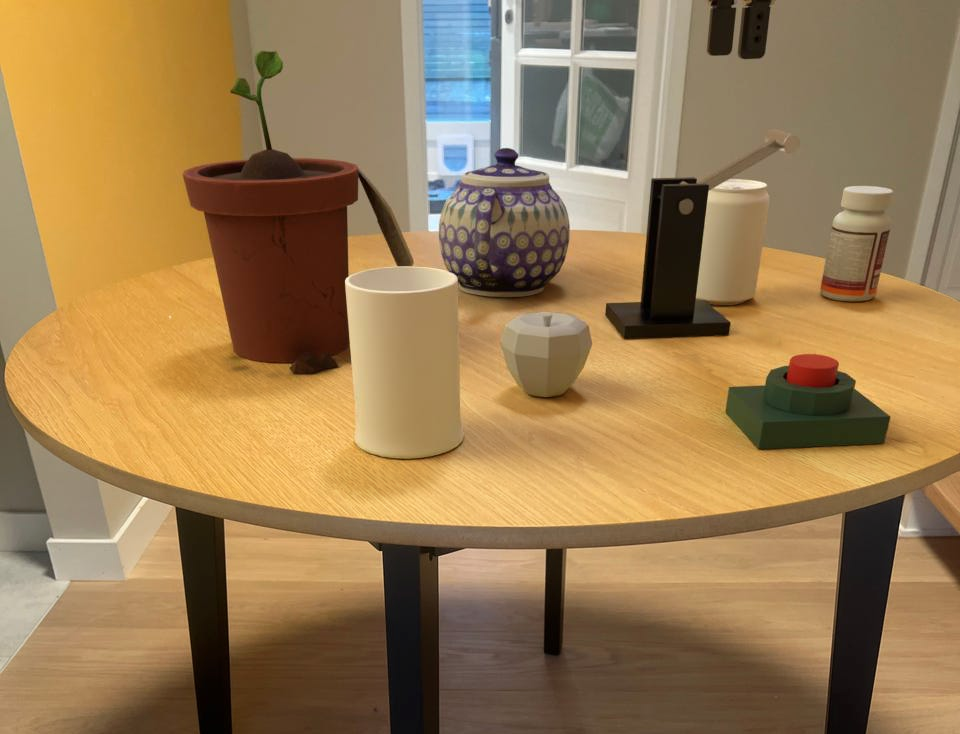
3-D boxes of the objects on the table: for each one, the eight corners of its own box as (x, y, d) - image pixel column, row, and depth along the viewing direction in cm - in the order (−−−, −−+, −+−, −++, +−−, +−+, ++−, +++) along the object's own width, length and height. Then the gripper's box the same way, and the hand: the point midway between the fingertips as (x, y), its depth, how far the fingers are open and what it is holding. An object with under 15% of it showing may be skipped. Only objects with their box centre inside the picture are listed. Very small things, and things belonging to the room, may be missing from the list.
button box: (840, 407, 79) (850, 359, 77) (884, 443, 72) (897, 392, 70) (724, 412, 78) (731, 364, 76) (758, 449, 72) (767, 398, 69)
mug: (372, 403, 80) (362, 254, 74) (472, 405, 80) (470, 256, 73) (344, 458, 71) (329, 292, 64) (458, 461, 70) (454, 294, 63)
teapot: (544, 319, 102) (549, 165, 93) (409, 310, 105) (403, 161, 97) (584, 267, 122) (591, 137, 113) (470, 261, 125) (469, 134, 117)
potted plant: (264, 314, 104) (229, 47, 90) (451, 329, 99) (445, 48, 85) (179, 363, 90) (121, 55, 76) (392, 382, 85) (372, 56, 71)
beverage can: (742, 310, 104) (759, 192, 97) (672, 301, 108) (684, 186, 101) (762, 294, 110) (780, 181, 103) (696, 286, 113) (709, 176, 107)
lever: (783, 145, 94) (775, 121, 92) (803, 152, 89) (796, 127, 88) (662, 215, 96) (653, 193, 95) (676, 225, 92) (667, 201, 91)
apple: (593, 406, 79) (598, 327, 76) (499, 406, 79) (500, 328, 76) (586, 376, 86) (590, 302, 82) (499, 376, 86) (500, 302, 82)
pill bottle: (853, 287, 112) (874, 183, 106) (886, 300, 107) (911, 191, 101) (808, 292, 111) (827, 186, 105) (839, 305, 106) (862, 195, 100)
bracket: (702, 311, 104) (720, 173, 96) (729, 335, 96) (750, 187, 89) (605, 315, 103) (614, 175, 95) (623, 338, 96) (635, 190, 88)
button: (823, 374, 75) (827, 352, 74) (842, 390, 72) (846, 367, 71) (779, 376, 75) (783, 354, 74) (796, 391, 72) (800, 369, 71)
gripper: (841, -198, 70) (805, 59, 79) (771, -168, 82) (747, 52, 91) (743, -196, 69) (718, 62, 78) (686, -166, 81) (671, 55, 90)
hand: (734, 57), depth 85 cm, fingers open, 8 cm apart
